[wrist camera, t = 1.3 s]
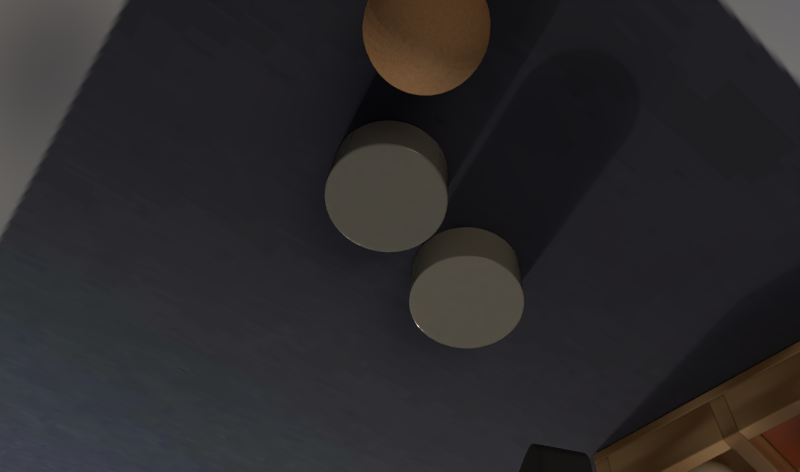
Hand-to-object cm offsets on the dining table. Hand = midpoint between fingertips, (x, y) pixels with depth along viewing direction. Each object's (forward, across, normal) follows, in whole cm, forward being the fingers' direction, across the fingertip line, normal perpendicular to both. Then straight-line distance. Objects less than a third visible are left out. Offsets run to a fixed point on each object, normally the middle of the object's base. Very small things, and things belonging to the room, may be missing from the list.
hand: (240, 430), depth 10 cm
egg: (+22, -2, -1) cm, 22 cm away
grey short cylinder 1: (+21, -2, +6) cm, 22 cm away
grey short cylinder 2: (+21, -6, +11) cm, 25 cm away
